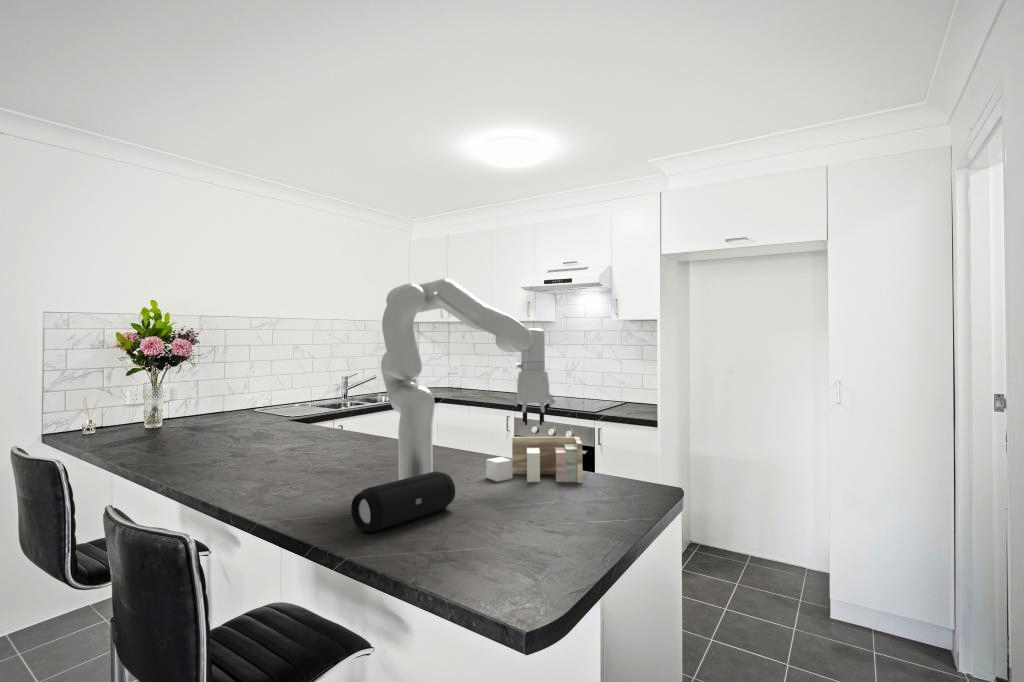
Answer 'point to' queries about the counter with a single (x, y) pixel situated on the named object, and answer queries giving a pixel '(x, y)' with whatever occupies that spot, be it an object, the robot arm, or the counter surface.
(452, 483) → the portable speaker
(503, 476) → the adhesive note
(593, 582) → the counter surface
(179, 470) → the counter surface
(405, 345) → the robot arm
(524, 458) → the wide wooden block
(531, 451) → the white block
